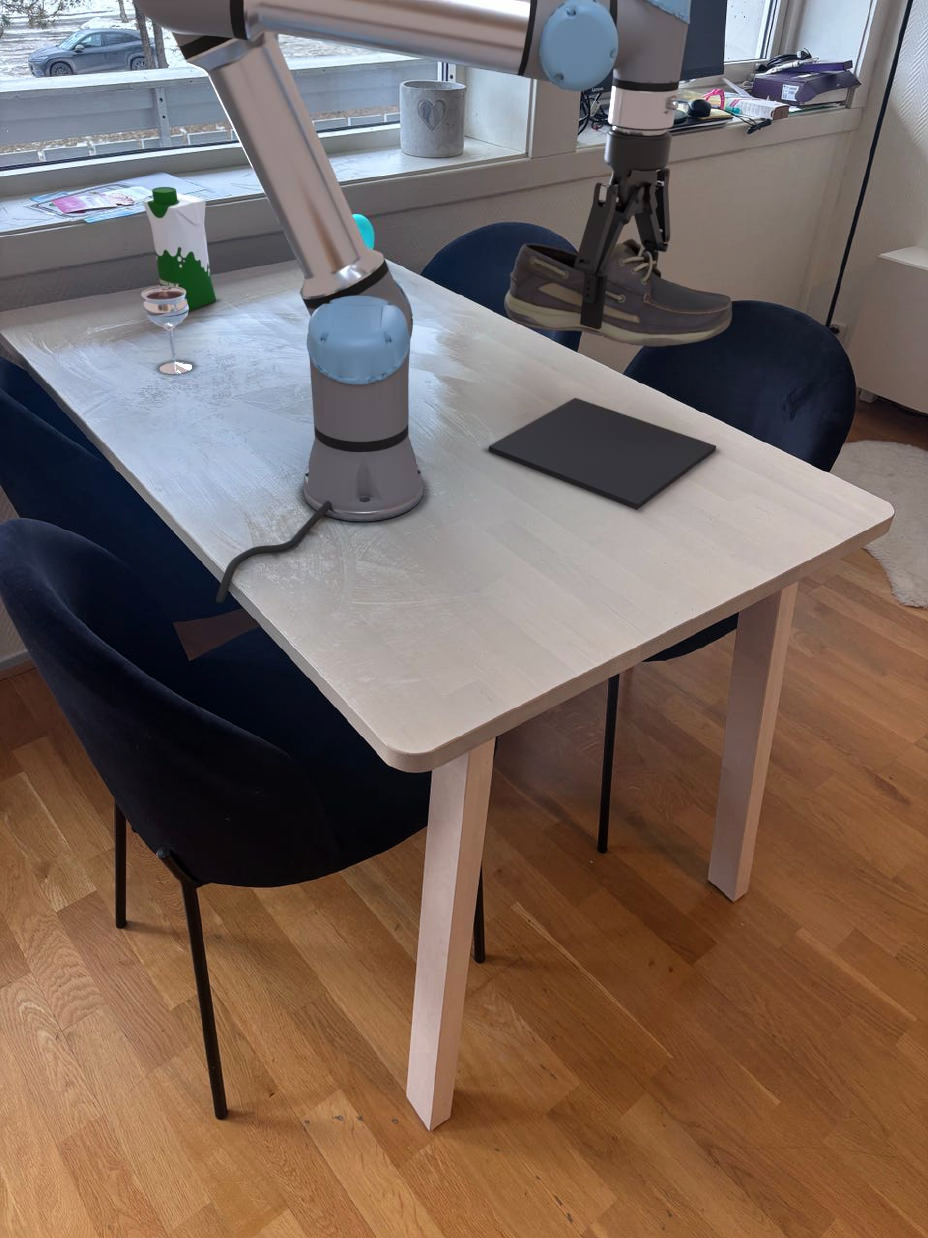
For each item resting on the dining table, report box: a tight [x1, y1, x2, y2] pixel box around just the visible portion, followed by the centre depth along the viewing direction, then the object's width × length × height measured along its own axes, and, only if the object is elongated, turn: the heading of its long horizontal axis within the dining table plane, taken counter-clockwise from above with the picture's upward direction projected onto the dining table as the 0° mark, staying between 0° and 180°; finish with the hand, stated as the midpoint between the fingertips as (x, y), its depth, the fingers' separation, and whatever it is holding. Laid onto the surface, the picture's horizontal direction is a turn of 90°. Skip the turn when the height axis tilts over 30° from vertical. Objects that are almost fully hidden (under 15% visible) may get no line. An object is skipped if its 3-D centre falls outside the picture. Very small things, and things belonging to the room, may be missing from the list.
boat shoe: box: [504, 238, 733, 347], centre depth 121 cm, size 11×29×11 cm, turn 79°
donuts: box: [352, 213, 375, 250], centre depth 197 cm, size 10×10×10 cm
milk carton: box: [142, 186, 217, 312], centre depth 172 cm, size 9×9×20 cm
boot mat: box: [488, 397, 717, 510], centre depth 135 cm, size 22×24×1 cm
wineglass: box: [140, 285, 192, 375], centre depth 150 cm, size 7×7×12 cm
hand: (616, 313), depth 124 cm, fingers closed on boat shoe, 12 cm apart
